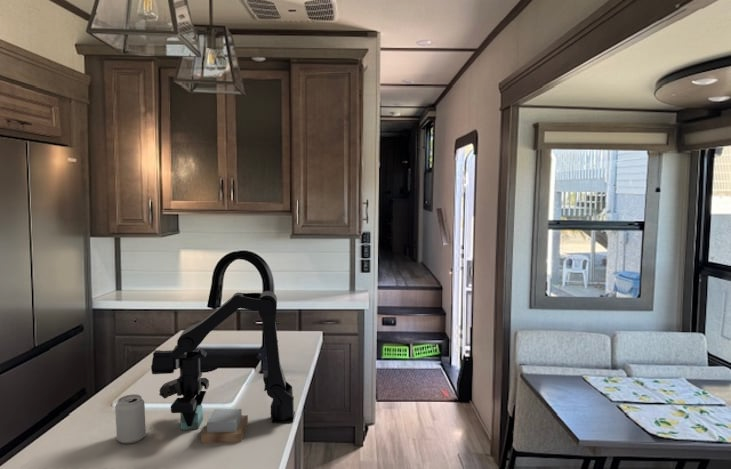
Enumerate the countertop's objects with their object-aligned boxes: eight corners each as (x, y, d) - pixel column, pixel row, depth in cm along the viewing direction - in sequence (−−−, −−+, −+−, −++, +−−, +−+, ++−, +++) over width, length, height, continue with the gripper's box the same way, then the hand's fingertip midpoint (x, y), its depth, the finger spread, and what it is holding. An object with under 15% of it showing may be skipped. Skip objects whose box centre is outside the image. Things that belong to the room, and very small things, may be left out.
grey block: (241, 418, 149) (241, 408, 149) (235, 432, 141) (235, 421, 141) (214, 418, 149) (214, 409, 149) (207, 432, 141) (206, 422, 141)
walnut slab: (247, 424, 152) (247, 415, 151) (241, 443, 141) (240, 433, 140) (211, 425, 151) (210, 416, 151) (201, 444, 140) (201, 434, 140)
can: (134, 446, 138) (132, 405, 137) (110, 443, 139) (108, 402, 138) (151, 433, 145) (149, 393, 144) (128, 430, 147) (126, 391, 145)
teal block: (202, 420, 153) (202, 405, 152) (198, 428, 148) (197, 412, 147) (186, 421, 152) (185, 405, 152) (181, 429, 147) (180, 413, 147)
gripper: (172, 360, 157) (174, 408, 159) (150, 385, 138) (153, 438, 140) (208, 360, 158) (210, 407, 159) (191, 384, 139) (193, 437, 141)
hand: (192, 421), depth 150 cm, fingers closed on teal block, 5 cm apart
